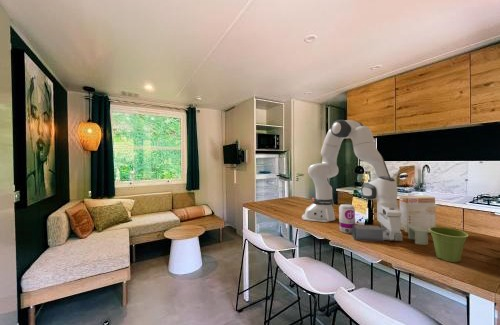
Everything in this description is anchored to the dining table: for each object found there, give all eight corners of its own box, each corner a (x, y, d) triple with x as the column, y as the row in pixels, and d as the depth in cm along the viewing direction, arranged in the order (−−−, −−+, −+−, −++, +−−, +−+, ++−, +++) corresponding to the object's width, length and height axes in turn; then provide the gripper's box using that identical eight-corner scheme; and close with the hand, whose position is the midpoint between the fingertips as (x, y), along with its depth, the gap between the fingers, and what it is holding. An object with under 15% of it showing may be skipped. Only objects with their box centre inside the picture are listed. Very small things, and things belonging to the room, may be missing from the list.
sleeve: (354, 240, 109) (354, 228, 109) (351, 235, 115) (351, 224, 115) (383, 241, 106) (382, 229, 106) (378, 236, 112) (378, 225, 112)
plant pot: (443, 265, 82) (442, 236, 82) (422, 251, 94) (422, 226, 93) (477, 266, 80) (477, 237, 80) (452, 252, 92) (452, 226, 92)
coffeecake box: (426, 228, 123) (426, 195, 122) (436, 233, 115) (435, 197, 115) (399, 228, 124) (398, 195, 124) (407, 232, 117) (406, 197, 117)
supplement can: (358, 233, 118) (357, 206, 118) (343, 234, 118) (342, 207, 118) (350, 228, 126) (350, 203, 126) (337, 229, 126) (336, 204, 126)
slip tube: (356, 239, 109) (356, 230, 109) (353, 235, 115) (353, 226, 115) (403, 241, 104) (402, 232, 104) (398, 237, 110) (397, 228, 110)
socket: (416, 244, 102) (415, 230, 102) (408, 238, 109) (408, 225, 109) (428, 244, 101) (427, 231, 101) (419, 238, 108) (419, 226, 108)
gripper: (373, 204, 119) (374, 228, 119) (388, 213, 99) (388, 242, 99) (386, 204, 117) (386, 229, 118) (403, 213, 97) (404, 243, 98)
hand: (387, 235), depth 108 cm, fingers open, 8 cm apart
